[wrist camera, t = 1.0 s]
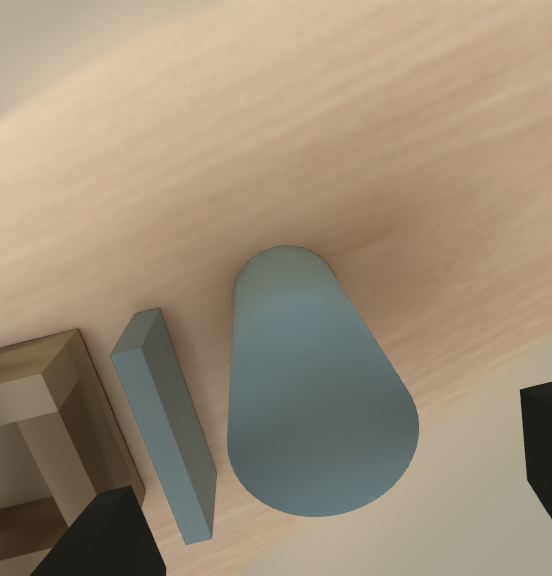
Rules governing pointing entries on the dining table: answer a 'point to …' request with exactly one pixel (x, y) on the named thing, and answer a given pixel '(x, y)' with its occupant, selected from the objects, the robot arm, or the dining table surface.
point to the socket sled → (53, 446)
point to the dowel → (311, 392)
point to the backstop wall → (168, 422)
